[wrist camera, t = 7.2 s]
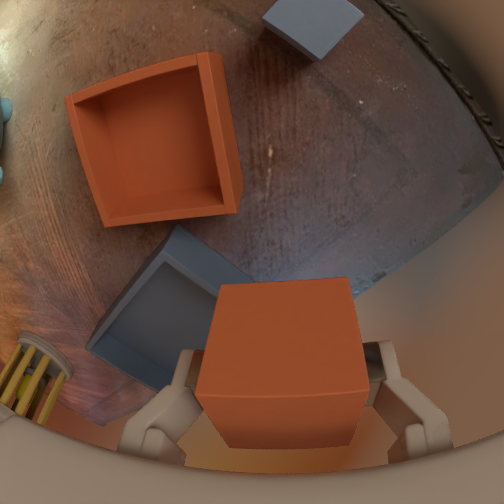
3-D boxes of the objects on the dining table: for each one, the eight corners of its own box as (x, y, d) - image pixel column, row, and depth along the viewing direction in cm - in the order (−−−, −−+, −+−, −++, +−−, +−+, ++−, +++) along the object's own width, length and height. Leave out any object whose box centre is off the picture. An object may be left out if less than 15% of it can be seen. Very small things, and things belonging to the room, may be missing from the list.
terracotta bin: (221, 53, 19) (207, 50, 15) (244, 188, 26) (236, 213, 22) (94, 89, 21) (63, 98, 17) (126, 203, 27) (104, 227, 24)
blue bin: (177, 222, 28) (161, 250, 24) (293, 310, 33) (293, 342, 29) (96, 325, 39) (84, 348, 36) (181, 377, 44) (174, 401, 41)
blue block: (350, 23, 17) (365, 14, 13) (313, 61, 19) (320, 60, 15) (302, -12, 15) (306, -29, 12) (265, 27, 18) (261, 17, 14)
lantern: (44, 332, 44) (-14, 444, 23) (85, 378, 52) (45, 480, 31) (10, 330, 47) (-41, 420, 26) (47, 371, 55) (8, 457, 34)
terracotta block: (347, 276, 10) (370, 389, 6) (340, 353, 13) (349, 445, 9) (220, 284, 11) (193, 394, 7) (241, 358, 13) (228, 448, 10)
